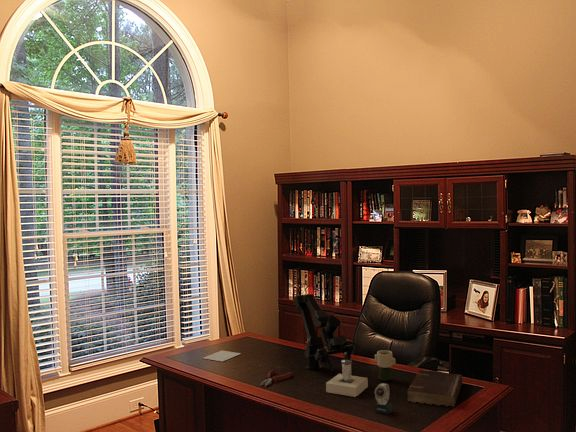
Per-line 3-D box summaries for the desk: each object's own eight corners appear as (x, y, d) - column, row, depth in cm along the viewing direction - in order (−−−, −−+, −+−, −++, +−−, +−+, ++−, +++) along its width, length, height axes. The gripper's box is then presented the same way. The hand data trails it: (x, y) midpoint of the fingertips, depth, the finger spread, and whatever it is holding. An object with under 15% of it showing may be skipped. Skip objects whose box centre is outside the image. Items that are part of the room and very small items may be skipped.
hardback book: (454, 408, 215) (454, 396, 215) (407, 402, 222) (407, 390, 222) (462, 385, 241) (462, 374, 241) (420, 380, 249) (419, 369, 249)
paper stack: (255, 356, 294) (255, 355, 294) (226, 369, 272) (226, 368, 272) (221, 351, 306) (221, 350, 306) (191, 363, 285) (191, 362, 285)
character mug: (399, 380, 248) (399, 352, 248) (391, 384, 243) (390, 356, 243) (379, 375, 256) (378, 348, 255) (371, 379, 250) (370, 352, 250)
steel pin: (341, 387, 241) (341, 358, 240) (352, 387, 241) (351, 358, 240) (342, 391, 236) (341, 361, 236) (352, 391, 236) (351, 361, 236)
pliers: (251, 386, 247) (251, 380, 247) (272, 373, 265) (272, 368, 265) (273, 390, 242) (273, 384, 242) (293, 376, 260) (293, 371, 259)
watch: (372, 413, 210) (372, 386, 210) (381, 407, 217) (380, 380, 217) (386, 416, 207) (385, 388, 207) (394, 409, 214) (393, 382, 214)
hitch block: (339, 382, 248) (339, 373, 248) (367, 386, 241) (367, 377, 241) (326, 392, 236) (325, 383, 236) (355, 397, 229) (355, 387, 229)
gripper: (316, 332, 244) (328, 362, 234) (352, 327, 251) (365, 357, 241) (309, 344, 251) (320, 375, 241) (345, 339, 258) (357, 369, 248)
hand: (341, 368), depth 243 cm, fingers open, 9 cm apart
